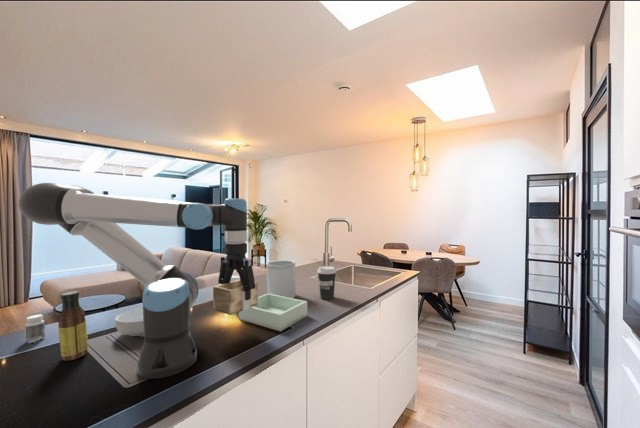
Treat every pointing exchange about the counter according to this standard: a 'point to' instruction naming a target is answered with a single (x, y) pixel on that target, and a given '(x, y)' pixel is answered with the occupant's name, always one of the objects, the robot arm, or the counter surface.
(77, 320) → the sauce bottle
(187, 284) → the robot arm
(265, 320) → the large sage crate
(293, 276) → the utensil holder
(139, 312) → the cereal bowl
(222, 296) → the small wooden crate
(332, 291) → the coffee cup
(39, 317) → the pill bottle
